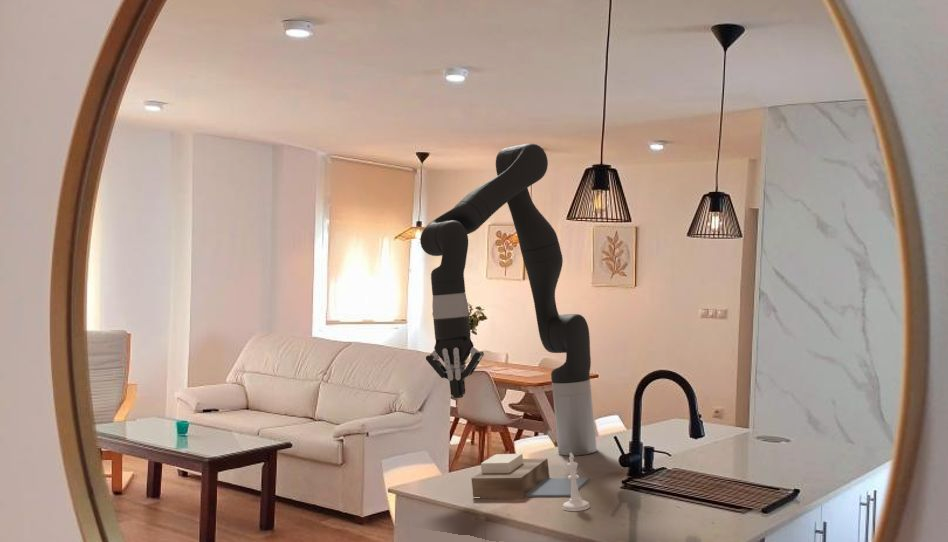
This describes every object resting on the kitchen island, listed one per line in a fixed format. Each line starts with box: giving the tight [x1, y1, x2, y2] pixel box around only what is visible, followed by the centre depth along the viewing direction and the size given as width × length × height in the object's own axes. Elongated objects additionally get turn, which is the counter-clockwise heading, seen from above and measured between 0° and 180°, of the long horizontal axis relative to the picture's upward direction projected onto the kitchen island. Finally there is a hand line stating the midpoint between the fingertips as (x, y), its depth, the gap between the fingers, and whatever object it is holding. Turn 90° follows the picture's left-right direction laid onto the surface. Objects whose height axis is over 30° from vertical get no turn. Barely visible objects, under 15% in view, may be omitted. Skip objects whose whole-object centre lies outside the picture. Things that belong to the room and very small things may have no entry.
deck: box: [471, 457, 550, 499], centre depth 186 cm, size 18×10×4 cm, turn 159°
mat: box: [524, 477, 590, 498], centre depth 181 cm, size 14×10×1 cm
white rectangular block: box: [480, 453, 524, 473], centre depth 187 cm, size 9×6×2 cm, turn 159°
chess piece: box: [562, 453, 591, 512], centre depth 165 cm, size 5×5×10 cm
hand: (458, 397), depth 190 cm, fingers closed
